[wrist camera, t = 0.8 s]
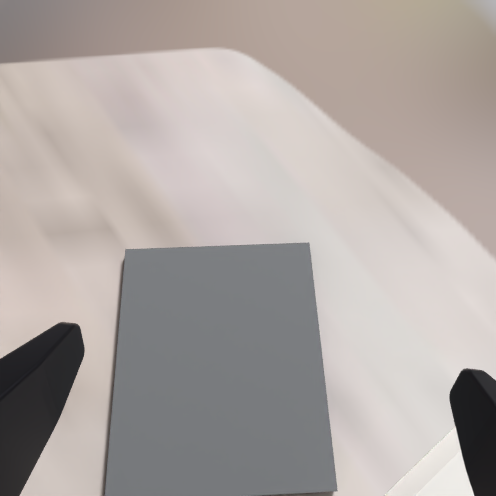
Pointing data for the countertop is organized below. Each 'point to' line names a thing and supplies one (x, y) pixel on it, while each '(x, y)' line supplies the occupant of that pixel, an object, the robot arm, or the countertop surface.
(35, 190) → the countertop surface
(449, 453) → the key housing
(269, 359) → the key mat
